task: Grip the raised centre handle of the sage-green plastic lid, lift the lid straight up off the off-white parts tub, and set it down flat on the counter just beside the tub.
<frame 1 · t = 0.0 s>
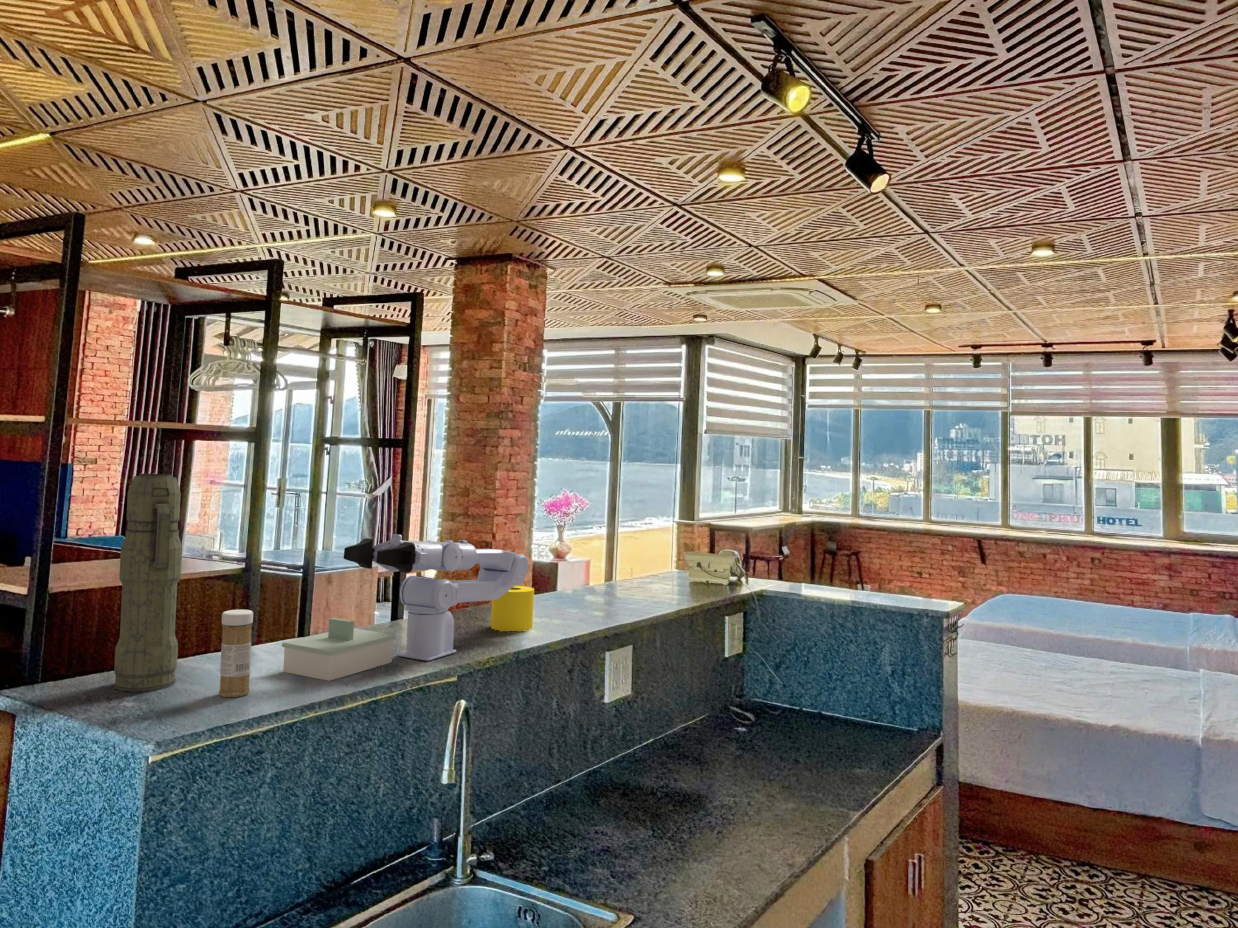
hand: (361, 555, 142), 22 cm above the countertop, tool horizontal, fingers open, 7 cm apart
tub: (339, 666, 147), on the countertop
lid: (340, 646, 147), point 4 cm above the countertop, touching tub
yellow paper roll: (511, 628, 190), on the countertop
sprinkles bottle: (233, 695, 128), on the countertop
thermos: (145, 685, 131), on the countertop
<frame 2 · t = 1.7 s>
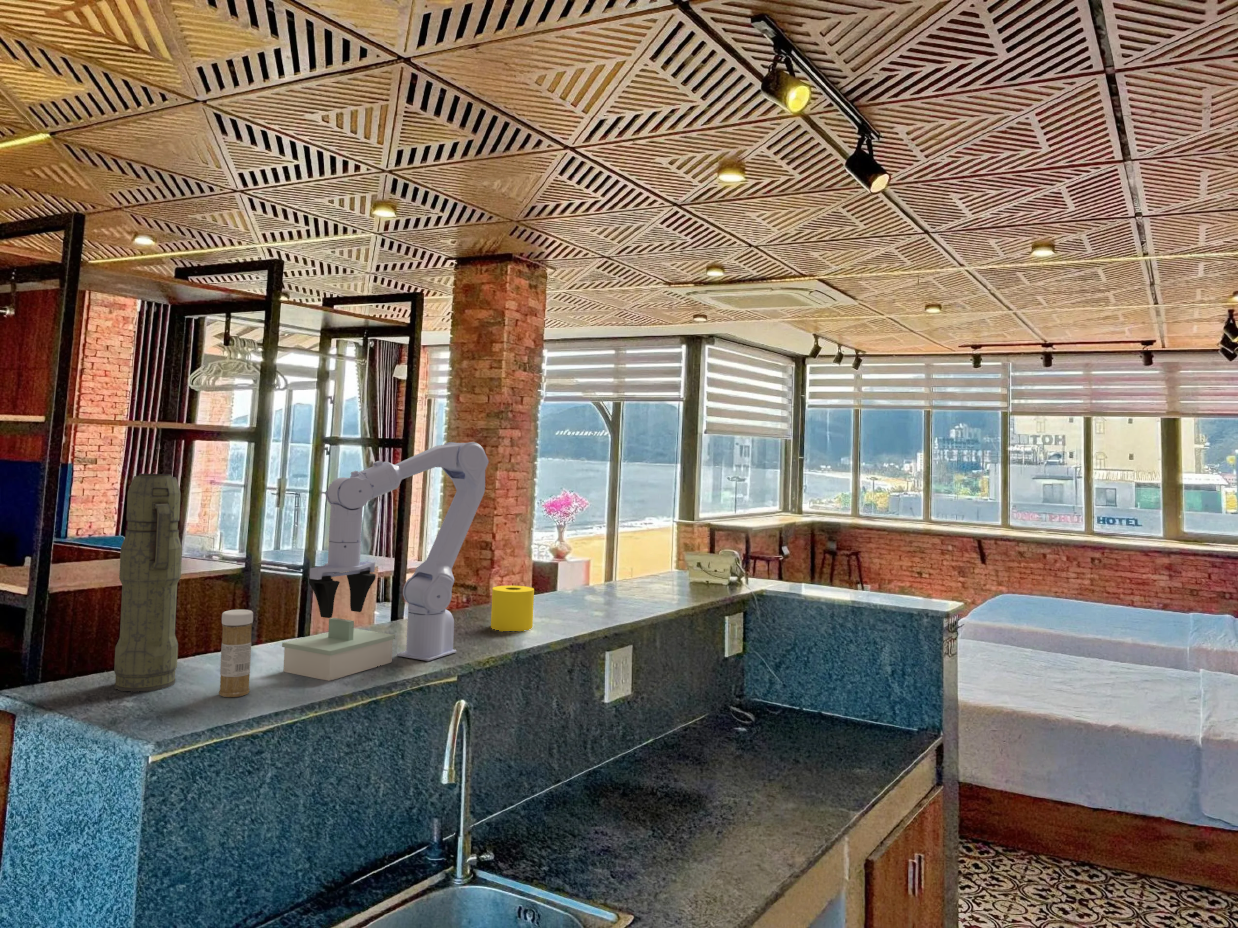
hand: (341, 614, 147), 10 cm above the countertop, tool pointing down, fingers open, 7 cm apart
nothing on the countertop moved.
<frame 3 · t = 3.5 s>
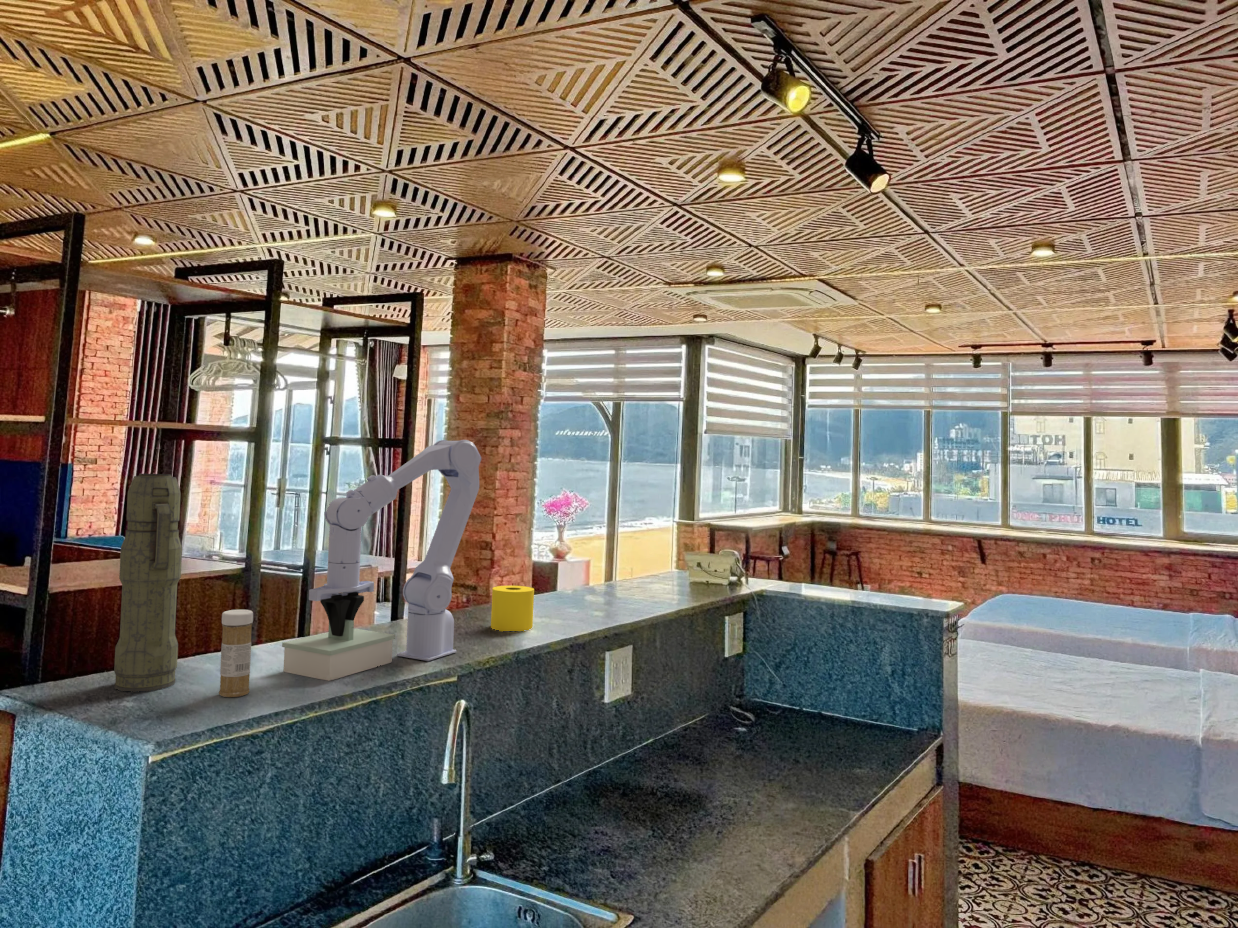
hand: (340, 634, 147), 6 cm above the countertop, tool pointing down, fingers closed on lid
lid: (340, 646, 147), point 4 cm above the countertop, touching gripper
everything else where it was.
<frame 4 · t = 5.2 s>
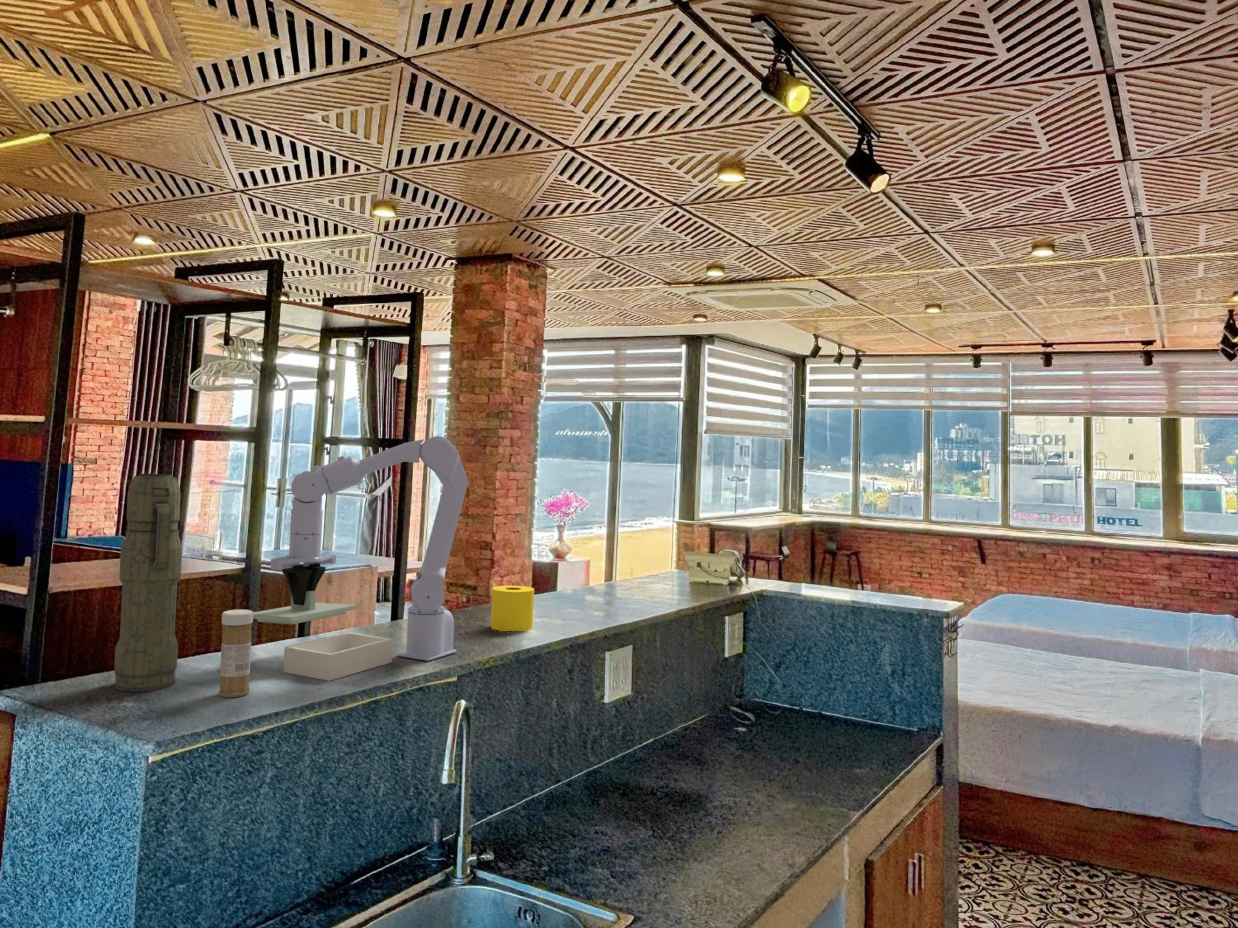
hand: (302, 603, 152), 11 cm above the countertop, tool pointing down, fingers closed on lid
lid: (303, 617, 152), point 8 cm above the countertop, touching gripper
everything else where it was.
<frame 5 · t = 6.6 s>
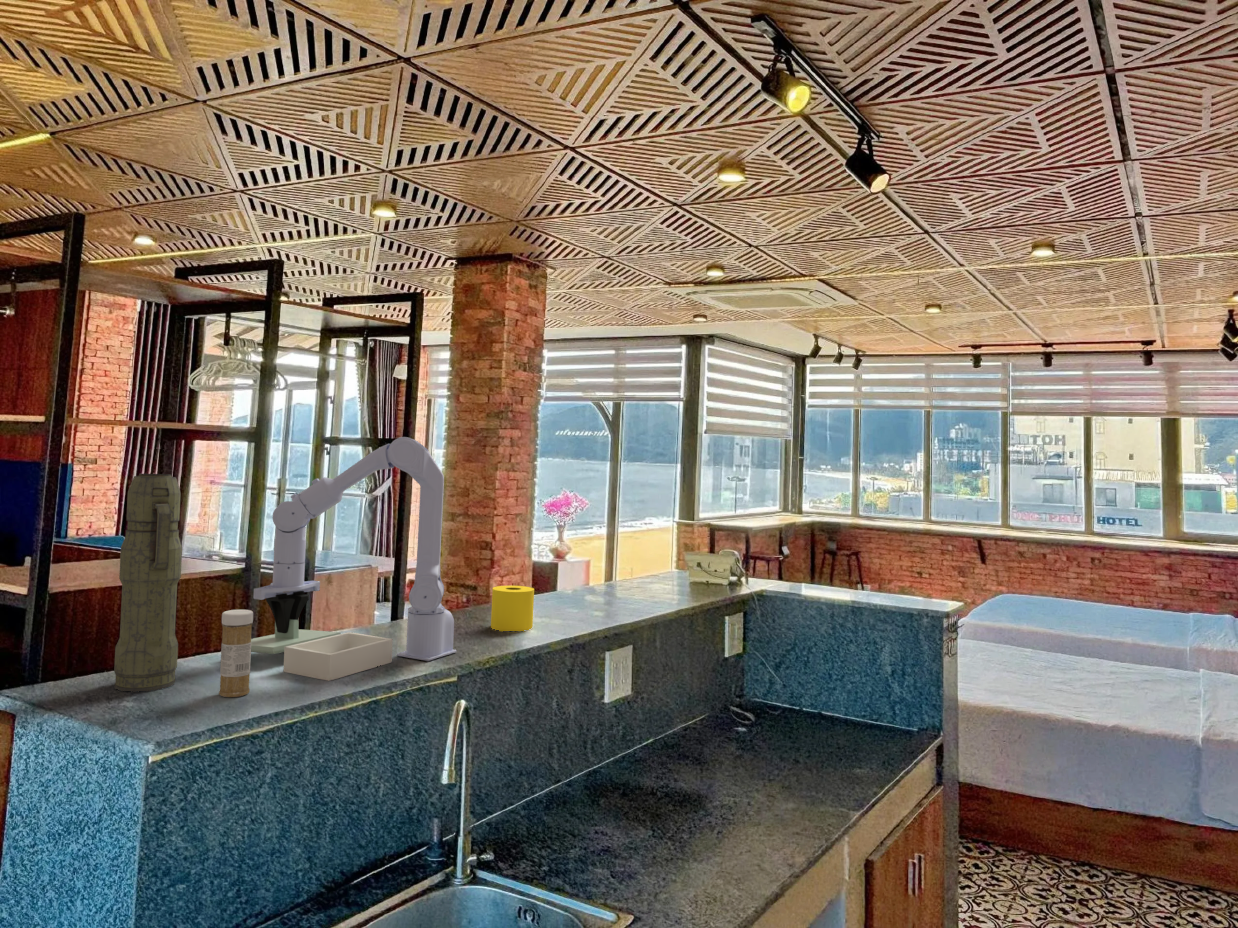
hand: (286, 631, 154), 5 cm above the countertop, tool pointing down, fingers closed on lid
lid: (286, 645, 154), point 2 cm above the countertop, touching gripper
everything else where it was.
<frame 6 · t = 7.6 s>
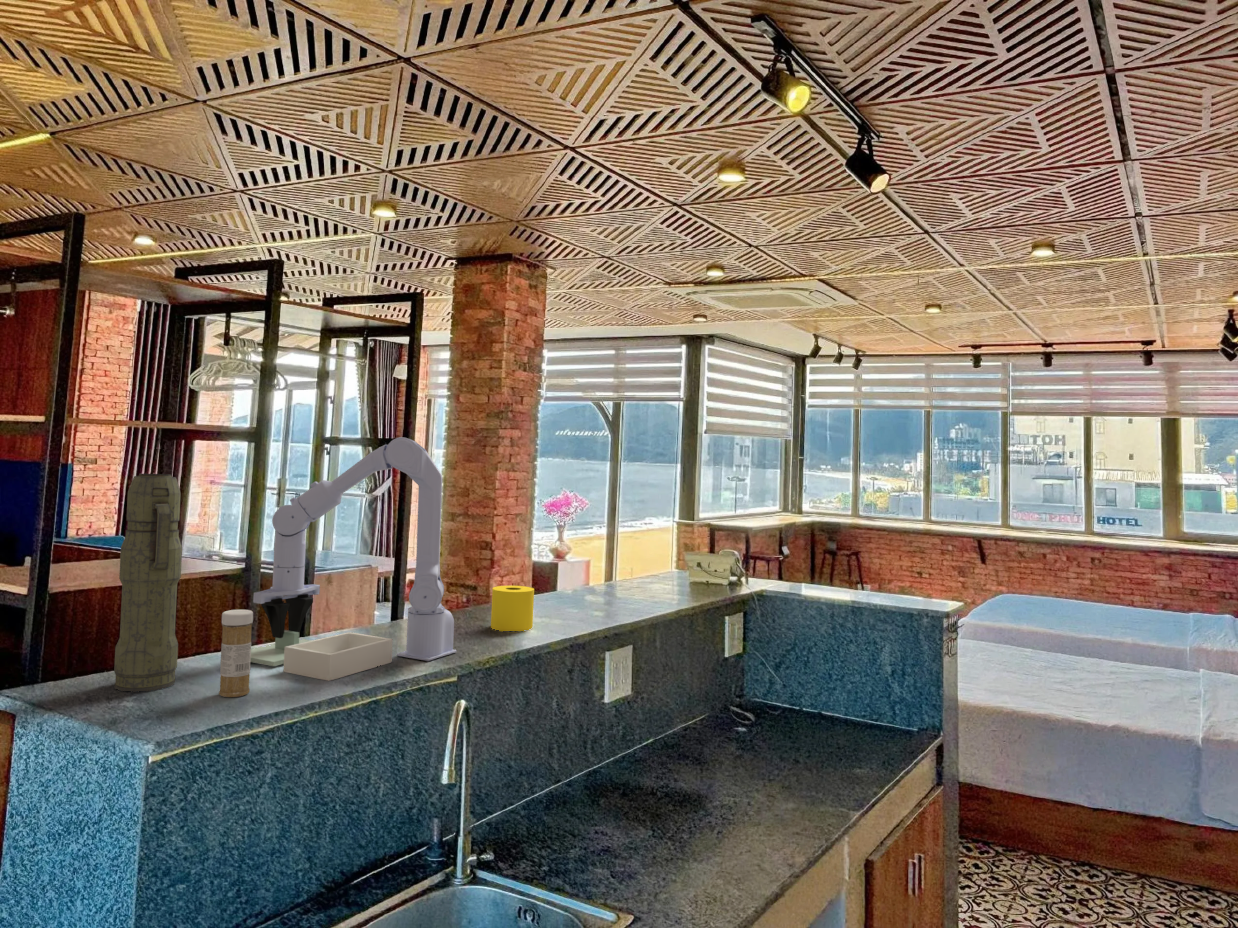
hand: (286, 635, 154), 4 cm above the countertop, tool pointing down, fingers open, 3 cm apart
lid: (286, 657, 154), on the countertop
everything else where it was.
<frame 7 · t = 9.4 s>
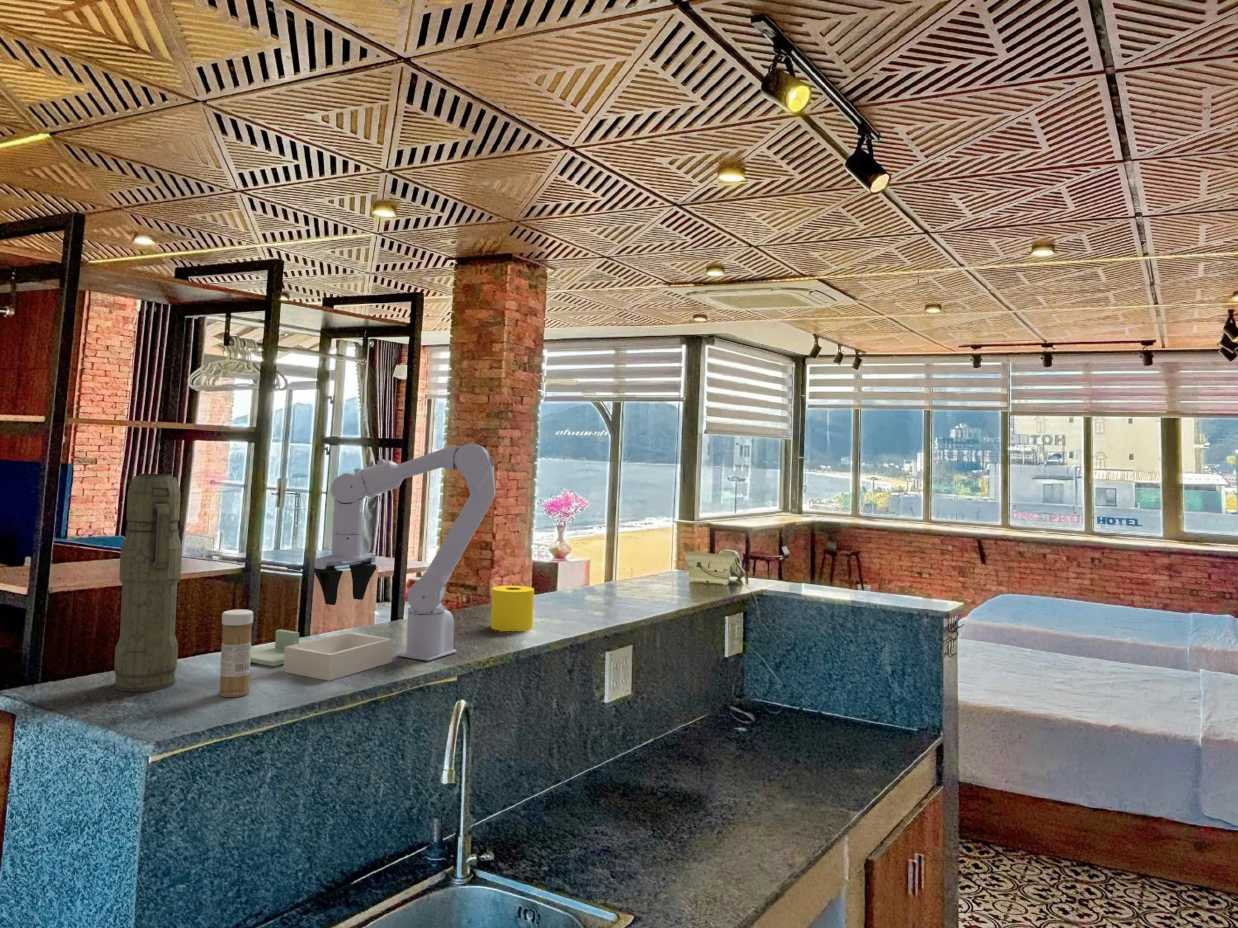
hand: (344, 601, 157), 10 cm above the countertop, tool pointing down, fingers open, 7 cm apart
nothing on the countertop moved.
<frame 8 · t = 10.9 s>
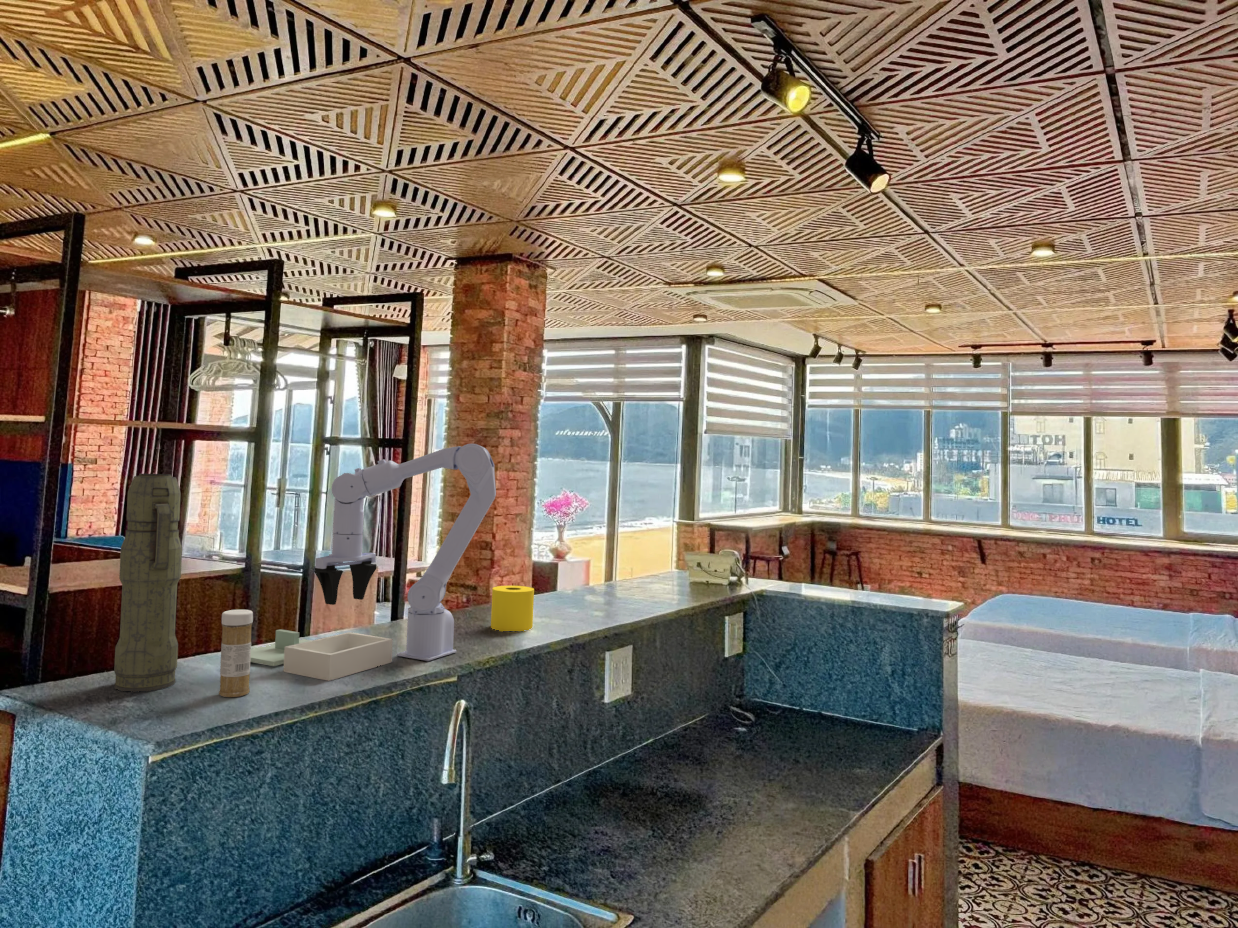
hand: (344, 601, 157), 10 cm above the countertop, tool pointing down, fingers open, 7 cm apart
nothing on the countertop moved.
at the end: lid inside the target area (0.4 cm from its centre), on the countertop; lid touching countertop; lid tilted 0° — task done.
